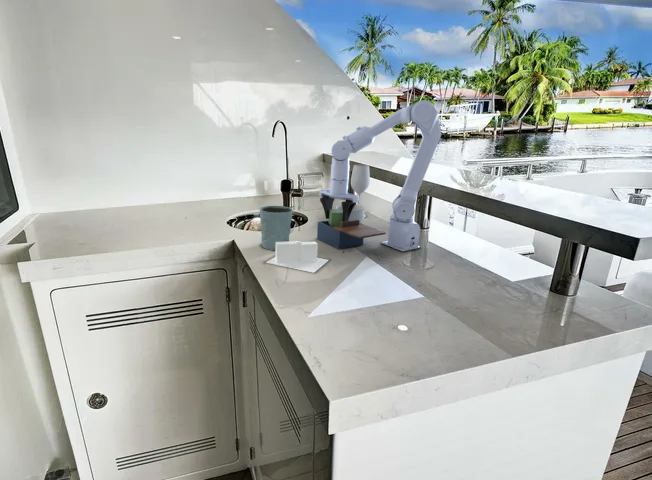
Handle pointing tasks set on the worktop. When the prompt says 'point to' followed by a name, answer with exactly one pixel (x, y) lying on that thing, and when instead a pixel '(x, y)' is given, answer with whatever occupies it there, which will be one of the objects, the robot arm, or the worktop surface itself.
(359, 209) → the teacup
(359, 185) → the wineglass
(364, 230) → the tin lid
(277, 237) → the teal plant pot
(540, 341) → the worktop surface
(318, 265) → the twin cubes on base
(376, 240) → the worktop surface
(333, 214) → the block
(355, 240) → the tin
